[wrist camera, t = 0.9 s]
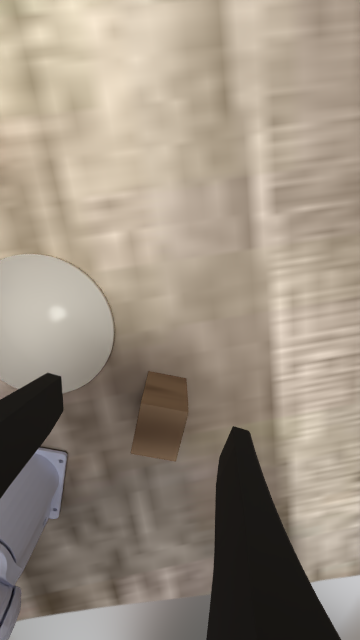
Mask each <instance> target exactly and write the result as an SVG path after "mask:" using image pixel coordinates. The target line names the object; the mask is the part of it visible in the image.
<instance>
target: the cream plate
mask: <svg viewBox="0 0 360 640" xmlns="http://www.w3.org/2000/svg"><path fill="white" fill-rule="evenodd" d="M114 336H115V325H114V319H113V314H112V311H111V308H110V305H109V303H108V301H107V299H106V297H105V295H104V293H103V292H102V290H101V289H100V287H99V286H98V285H97V284H96V283H95V281H94V280H93V279H92V278H91V277H89V276H88V275H87V274H86V273H85V272H84V271H82V270H81V269H80V268H78V267H76V266H75V265H73V264H71V263H69V262H67V261H65V260H62V259H60V258H57V257H53V256H49V255H42V254H21V255H14V256H10V257H7V258H4V259H2V260H0V379H1V380H2V381H4V382H5V383H7V384H9V385H11V386H13V387H15V388H17V389H20V388H22V387H23V386H25V385H27V384H29V383H30V382H32V381H34V380H35V379H37V378H39V377H41V376H42V375H44V374H46V373H51V374H55V375H58V376H61V379H62V393H66V392H70V391H73V390H76V389H78V388H80V387H82V386H84V385H85V384H87V383H88V382H89V381H91V380H92V379H93V378H94V377H95V376H96V375H97V374H98V373H99V372H100V371H101V369H102V368H103V367H104V365H105V363H106V362H107V360H108V358H109V356H110V353H111V351H112V348H113V343H114Z"/></svg>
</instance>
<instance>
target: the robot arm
mask: <svg viewBox="0 0 360 640" xmlns="http://www.w3.org/2000/svg"><path fill="white" fill-rule="evenodd" d="M62 412H63V395H62V379H61V376H58V375H55V374H51V373H46V374H44V375H42V376H41V377H39V378H37V379H35V380H34V381H32V382H30V383H29V384H27V385H25V386H23V387H22V388H20V389H18V390H17V391H15V392H13V393H11V394H10V395H8V396H6V397H4V398H3V399H1V400H0V640H8V639H9V637H10V635H11V633H12V630H13V628H14V625H15V623H16V620H17V618H18V615H19V611H20V607H21V589H20V587H17V586H15V584H16V582H17V580H18V578H19V577H20V575H21V574H22V572H23V570H24V568H25V566H26V564H27V562H28V560H29V558H30V556H31V554H32V552H33V550H34V548H35V546H36V544H37V542H38V540H39V537H40V535H41V533H42V531H43V529H44V527H45V525H46V523H47V521H48V519H49V518H51V519H57V518H58V516H59V514H60V507H61V499H62V492H63V484H64V477H65V469H66V462H67V454H66V453H65V452H62V451H56V450H51V449H45V448H39V447H40V446H41V444H42V443H43V442H44V440H45V439H46V438H47V436H48V435H49V434H50V432H51V430H52V429H53V427H54V426H55V424H56V422H57V421H58V419H59V417H60V415H61V414H62ZM62 460H63V461H62ZM207 640H341V639H340V637H339V635H338V633H337V631H336V630H335V628H334V626H333V625H332V622H331V621H330V619H329V617H328V615H327V614H326V612H325V610H324V608H323V606H322V604H321V603H320V601H319V599H318V597H317V595H316V593H315V591H314V590H313V588H312V586H311V584H310V582H309V580H308V578H307V576H306V574H305V572H304V570H303V568H302V566H301V564H300V562H299V560H298V558H297V555H296V553H295V551H294V549H293V547H292V545H291V543H290V540H289V538H288V536H287V534H286V532H285V529H284V527H283V525H282V522H281V520H280V517H279V515H278V513H277V510H276V508H275V505H274V503H273V500H272V498H271V495H270V492H269V490H268V487H267V484H266V482H265V479H264V476H263V473H262V470H261V467H260V464H259V461H258V458H257V455H256V452H255V449H254V445H253V442H252V438H251V434H250V432H249V431H248V430H244V429H241V428H237V427H234V426H233V427H232V430H231V432H230V434H229V437H228V439H227V441H226V444H225V446H224V448H223V450H222V453H221V455H220V458H219V465H218V473H217V482H216V508H215V553H214V571H213V582H212V592H211V602H210V612H209V622H208V630H207Z"/></svg>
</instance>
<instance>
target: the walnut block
mask: <svg viewBox="0 0 360 640" xmlns="http://www.w3.org/2000/svg"><path fill="white" fill-rule="evenodd" d="M187 416H188V397H187V382H186V378H181V377H176V376H171V375H166V374H161V373H156V372H150V371H149V372H148V376H147V380H146V384H145V388H144V392H143V396H142V401H141V405H140V410H139V415H138V420H137V424H136V429H135V434H134V439H133V444H132V449H131V454H136V455H142V456H147V457H153V458H159V459H164V460H170V461H176V459H177V455H178V451H179V447H180V443H181V439H182V436H183V432H184V428H185V424H186V420H187Z"/></svg>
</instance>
